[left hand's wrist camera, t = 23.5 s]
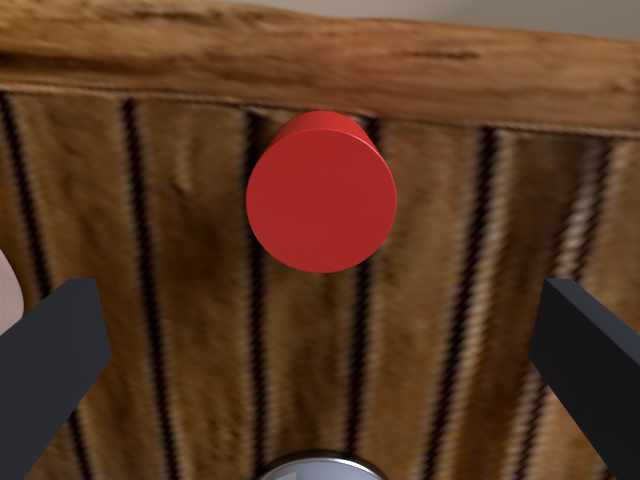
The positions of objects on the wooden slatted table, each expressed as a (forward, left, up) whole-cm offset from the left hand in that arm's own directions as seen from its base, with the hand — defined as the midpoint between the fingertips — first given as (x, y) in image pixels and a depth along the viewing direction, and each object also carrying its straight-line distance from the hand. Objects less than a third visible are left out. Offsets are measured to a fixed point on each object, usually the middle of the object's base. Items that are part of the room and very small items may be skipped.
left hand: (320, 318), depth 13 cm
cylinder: (0, 0, -20) cm, 20 cm away
